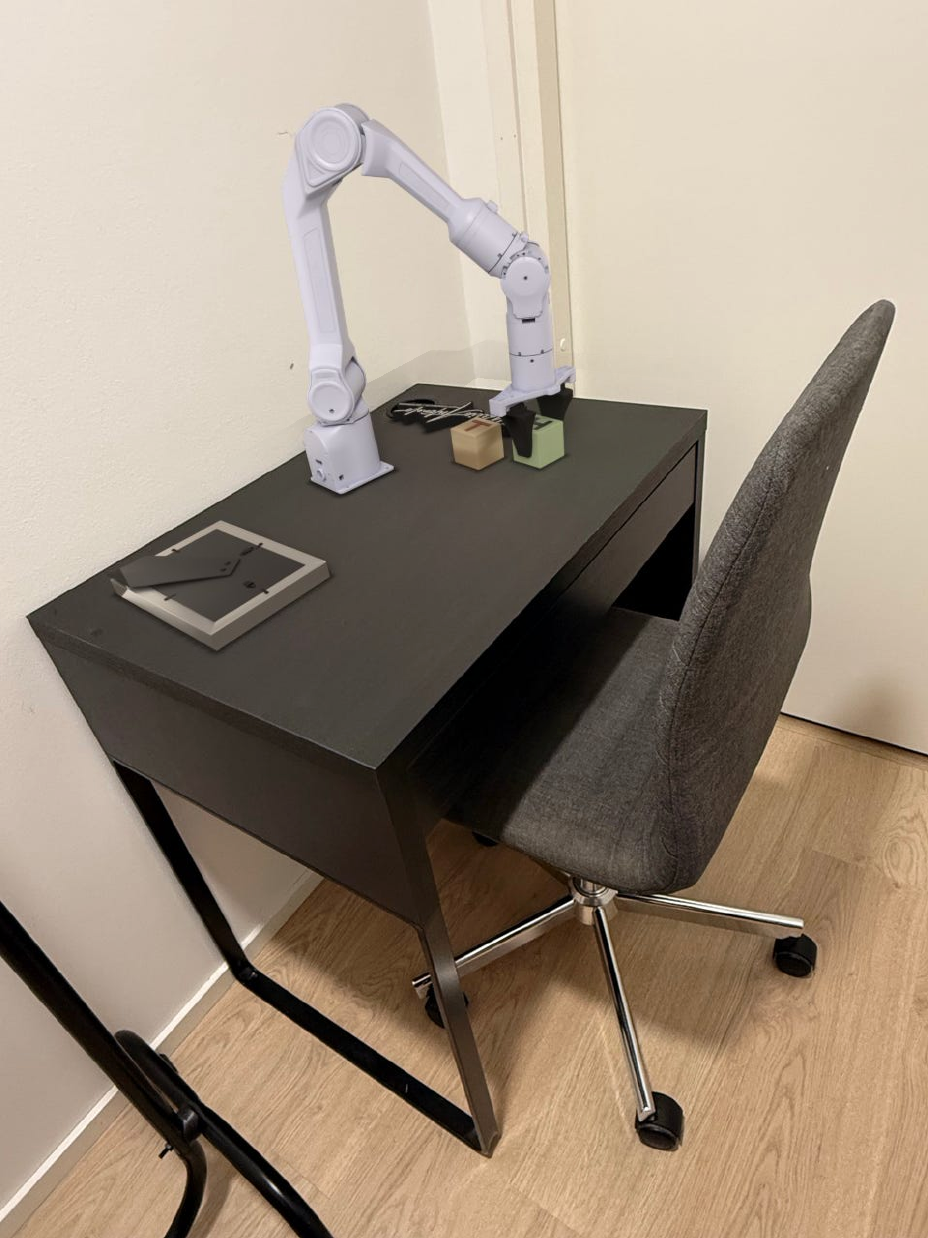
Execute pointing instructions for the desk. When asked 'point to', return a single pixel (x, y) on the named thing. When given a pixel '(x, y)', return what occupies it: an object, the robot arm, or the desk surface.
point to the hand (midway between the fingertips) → (538, 448)
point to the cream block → (477, 443)
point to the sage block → (544, 442)
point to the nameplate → (442, 415)
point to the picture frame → (219, 582)
